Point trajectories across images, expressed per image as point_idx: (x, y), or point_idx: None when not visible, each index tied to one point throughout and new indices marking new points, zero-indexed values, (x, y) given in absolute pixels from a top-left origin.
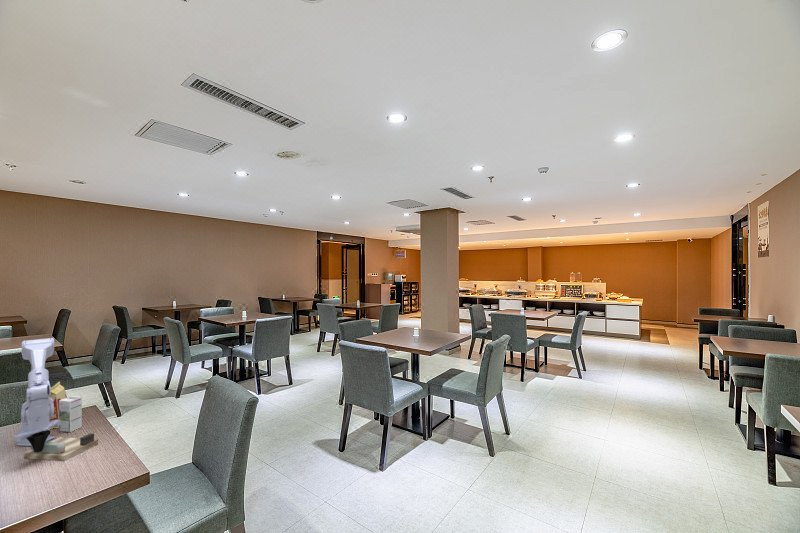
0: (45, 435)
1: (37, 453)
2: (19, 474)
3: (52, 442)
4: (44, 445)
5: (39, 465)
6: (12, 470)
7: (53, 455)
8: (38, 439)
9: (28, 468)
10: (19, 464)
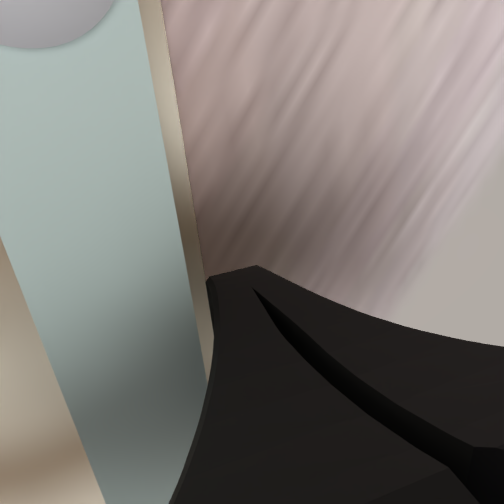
0: (348, 449)
1: (202, 330)
2: (479, 56)
3: (64, 302)
4: (192, 324)
5: (302, 61)
6: (410, 234)
7: (162, 15)
8: (497, 360)
9: (371, 117)
10: None
